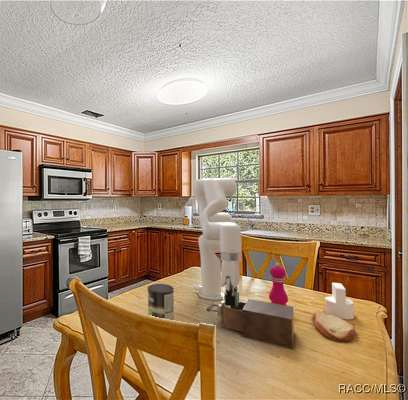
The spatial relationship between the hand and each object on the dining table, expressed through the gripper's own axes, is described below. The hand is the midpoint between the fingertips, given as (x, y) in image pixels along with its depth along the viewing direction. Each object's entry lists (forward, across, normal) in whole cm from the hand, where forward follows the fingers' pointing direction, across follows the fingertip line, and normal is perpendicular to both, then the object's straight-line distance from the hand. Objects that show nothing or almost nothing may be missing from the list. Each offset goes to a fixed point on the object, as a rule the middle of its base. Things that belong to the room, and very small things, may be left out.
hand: (231, 303), depth 104 cm
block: (0, 0, 0) cm, 0 cm away
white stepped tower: (+9, -35, +34) cm, 50 cm away
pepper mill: (+9, -30, +13) cm, 34 cm away
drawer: (+8, 0, 0) cm, 8 cm away
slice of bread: (+9, -18, +30) cm, 36 cm away
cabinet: (+9, 0, +12) cm, 15 cm away
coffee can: (+9, +12, -24) cm, 28 cm away
